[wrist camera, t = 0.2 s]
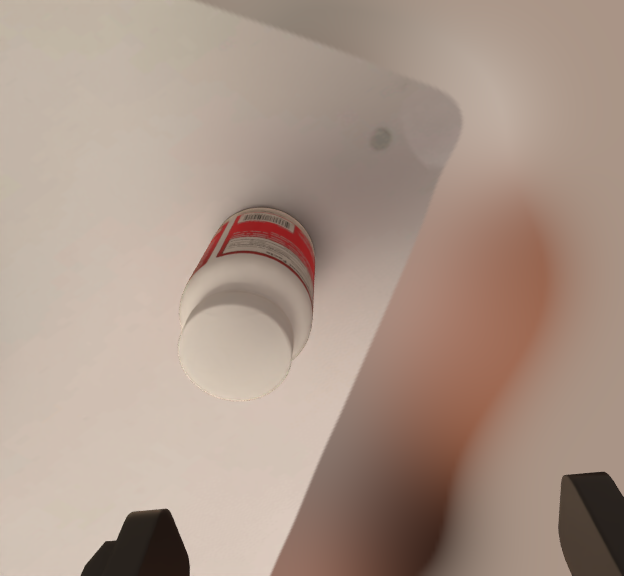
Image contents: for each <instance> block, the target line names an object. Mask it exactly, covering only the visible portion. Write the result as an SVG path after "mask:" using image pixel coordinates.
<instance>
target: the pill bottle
mask: <svg viewBox="0 0 624 576" xmlns="http://www.w3.org/2000/svg"><path fill="white" fill-rule="evenodd" d="M314 275H315V254H314V248H313V244H312V241H311V239H310V237H309V235H308V233H307V232H306V230H305V229H304V228H303V226H302V225H301V224H300V223H299V222H298V221H297V220H295V219H294V218H293V217H291V216H290V215H288V214H286V213H284V212H282V211H279V210H276V209H271V208H251V209H246V210H243V211H241V212H239V213H236V214H235V215H233V216H231V217H230V218H229V219H227V220H226V221H225V222H224V223H223V224H222V225H221V227H220V228H219V229H218V231H217V232H216V234H215V235H214V237H213V239H212V241H211V243H210V244H209V246H208V248H207V250H206V251H205V253H204V255H203V257H202V258H201V260H200V262H199V264H198V265H197V267H196V269H195V271H194V272H193V274H192V276H191V277H190V279H189V281H188V283H187V285H186V287H185V289H184V291H183V294H182V297H181V301H180V307H179V319H180V325H181V329H182V332H181V335H180V338H179V342H178V355H179V360H180V363H181V366H182V368H183V370H184V372H185V374H186V375H187V376H188V378H189V379H190V380H191V381H192V382H193V383H194V384H195V385H196V386H197V387H198V388H200V389H201V390H203V391H204V392H206V393H208V394H210V395H212V396H214V397H217V398H220V399H224V400H230V401H248V400H253V399H257V398H260V397H262V396H265V395H266V394H269V393H270V392H272V391H273V390H274V389H276V388H277V387H278V386H279V385H280V384H281V383H282V382H283V380H284V379H285V377H286V376H287V374H288V372H289V369H290V367H291V362H292V360H294V359H295V358H296V357H297V356H298V354H299V353H300V352H301V351H302V349H303V348H304V346H305V344H306V342H307V340H308V338H309V335H310V331H311V327H312V319H313V297H314Z"/></svg>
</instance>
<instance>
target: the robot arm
mask: <svg viewBox="0 0 624 576" xmlns="http://www.w3.org/2000/svg"><path fill="white" fill-rule="evenodd" d="M558 529H559V537H560V543H561V547H562V551H563V554H564V557H565V560H566V562H567V564H568V567H569V569H570V572H571V574H572V576H624V497H623V496H622V494H621V492H620V491H619V489H618V488H617V486H616V484H615V483H614V481H613V480H612V478H611V477H610V476H609V475H608V474H607V473H605V472H595V473H583V474H572V475H564V476H563V477H562V482H561V496H560V511H559V526H558ZM81 576H190V565H189V558H188V554H187V552H186V549H185V547H184V544H183V542H182V539H181V537H180V534H179V532H178V529H177V527H176V524H175V522H174V519H173V517H172V515H171V513H170V511H169V510H168V509H159V510H147V511H136V512H131V513H130V514H129V515H128V516H127V518H126V520H125V522H124V524H123V526H122V529H121V531H120V533H119V536H118V538H117V540H116V541H106V542H105V543H104V544H103V545H102V546H101V548H100V549H99V550H98V551H97V552H96V553H95V555H94V556H93V557H92V558H91V559H90V561H89V562H88V563H87V564H86V565H85V567H84V569H83V572H82V574H81Z"/></svg>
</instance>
